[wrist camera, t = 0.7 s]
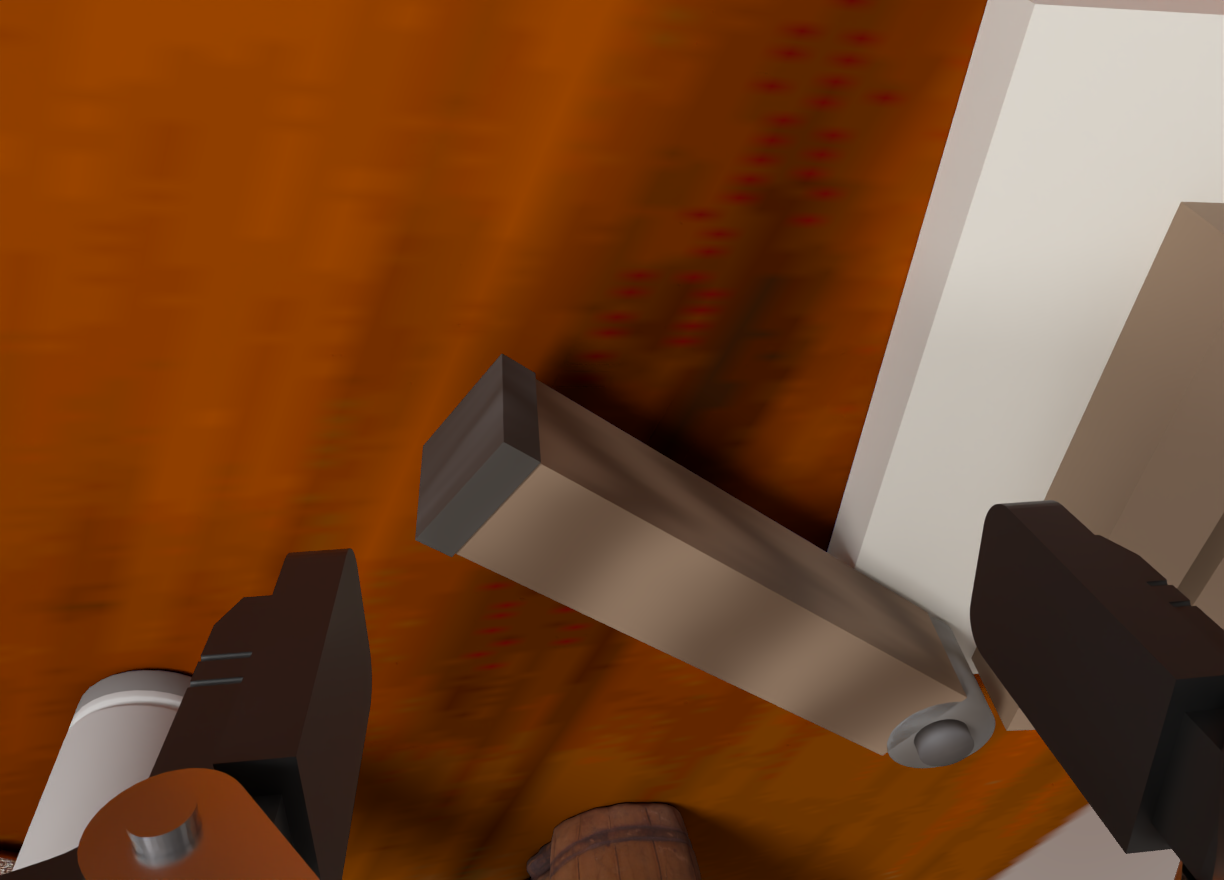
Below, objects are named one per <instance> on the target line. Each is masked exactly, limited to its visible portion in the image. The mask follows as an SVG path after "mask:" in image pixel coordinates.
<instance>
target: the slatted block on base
mask: <svg viewBox="0 0 1224 880" xmlns="http://www.w3.org/2000/svg"><path fill="white" fill-rule="evenodd" d="M1044 500H1054V501H1057V502H1059V503H1060V504H1062V505H1063V506H1064V507H1065V508H1066V509H1067V510H1068V511H1069V512H1070V513H1071V514H1073V515H1074V516H1075V517H1076V518H1077V519H1078V520H1079V521H1080V522H1081V523H1082V524H1083V525H1085V526H1086V527H1087V528H1088V529H1089V530H1090V531H1091V532H1092V533H1093V534H1094V535H1101V536H1103V537H1105V538H1107V539H1109V540H1111V541H1113V542H1114V543H1116V544H1118V545H1120V546H1122V547H1124V548H1126V549H1128V550H1130V551H1132V552H1134V553H1136V554H1138V555H1140V556H1141V557H1142V558H1143V559H1144V560H1145V561H1146V562H1147V563H1149V564H1150V565H1151V566H1152V567H1153V568H1154V569H1155V570H1156V571H1158V572H1159V573H1160V574H1161V575H1162V576H1163V577H1164V578H1166V579H1167V584H1168V585H1173V586H1175V587H1176V588H1177V589H1178V590H1179V591H1180V592H1181V593H1182V594H1184V595H1185V596H1186V597H1187V598H1188V599H1189V600H1190V604H1191V606H1197V607H1198V608H1199V609H1201V610H1202V611H1203V612H1204V613H1205V614H1206V615H1207V616H1208V617H1210V618H1211V619H1212V620H1213V621H1214V622H1215V623H1216V624H1218V625H1219V626H1220V627H1221V628H1222V629H1223V630H1224V0H988V1H987V5H986V8H985V12H984V15H983V19H982V22H981V26H980V29H979V32H978V36H977V39H976V43H975V46H974V50H973V53H972V56H971V60H970V63H969V67H968V70H967V74H966V77H965V80H964V84H963V87H962V91H961V94H960V98H959V101H958V104H957V108H956V111H955V115H954V118H953V122H952V125H951V128H950V132H949V135H948V139H947V142H946V146H945V149H944V152H943V156H942V159H941V163H940V166H939V170H938V173H937V177H936V180H935V183H934V187H933V190H932V194H931V197H930V201H929V204H928V207H927V211H926V214H925V218H924V221H923V225H922V228H921V231H920V235H919V238H918V242H917V245H916V249H915V252H914V255H913V259H912V262H911V266H910V269H909V273H908V276H907V279H906V283H905V286H904V290H903V293H902V297H901V300H900V303H899V307H898V310H897V314H896V317H895V321H894V324H893V328H892V331H891V334H890V338H889V341H888V345H887V348H886V352H885V355H884V358H883V362H882V365H881V369H880V372H879V376H878V379H877V382H876V386H875V389H874V393H873V396H872V400H871V403H870V406H869V410H868V413H867V417H866V420H865V424H864V427H863V430H862V434H861V437H860V441H859V444H858V448H857V451H856V454H855V458H854V461H853V465H852V468H851V472H850V475H849V479H848V482H847V485H846V489H845V492H844V496H843V499H842V503H841V506H840V509H839V513H838V516H837V520H836V523H835V527H834V530H833V533H832V537H831V540H830V544H829V547H828V551H827V553H829V554H830V555H832V556H834V557H835V558H837V559H839V560H840V561H842V562H844V563H845V564H847V565H849V566H850V567H852V568H854V569H856V570H857V571H859V572H861V573H862V574H864V575H866V576H867V577H869V578H871V579H872V580H874V581H876V582H877V583H879V584H881V585H882V586H884V587H886V588H887V589H889V590H891V591H892V592H894V593H896V594H897V595H899V596H901V597H903V598H904V599H906V600H908V601H909V602H911V603H913V604H914V605H916V606H918V607H919V608H921V609H923V610H924V611H926V612H927V613H928V615H929V617H932V618H935V619H938V620H941V621H943V622H944V623H946V624H947V625H948V626H949V627H950V628H951V630H952V631H953V634H954V636H955V638H956V640H957V642H958V644H959V646H960V648H961V650H962V652H963V654H964V656H965V658H966V660H967V662H968V664H969V667H970V669H971V671H972V673H973V674H979V675H980V677H981V679H982V681H983V683H984V685H985V688H986V690H987V692H988V694H989V696H990V698H991V700H992V702H993V704H994V706H995V708H996V710H997V712H998V714H999V716H1000V718H1001V720H1002V722H1003V724H1004V726H1005V728H1006V730H1007V731H1011V730H1035V728H1034V727H1033V726H1032V724H1031V723H1030V721H1029V720H1028V719H1027V717H1026V716H1025V715H1024V713H1023V712H1022V710H1021V709H1020V708H1019V706H1018V705H1017V704H1016V702H1015V701H1014V700H1013V698H1012V697H1011V695H1010V694H1009V693H1008V691H1007V690H1006V689H1005V687H1004V686H1003V684H1002V683H1001V682H1000V680H999V679H998V678H997V676H996V675H995V673H994V672H993V671H992V669H991V668H990V667H989V665H988V664H987V662H986V661H985V660H984V658H983V657H982V655H981V654H980V652H979V650H978V648H977V646H976V644H975V641H974V638H973V635H972V630H971V624H970V603H971V597H972V591H973V585H974V579H975V573H976V567H977V561H978V556H979V550H980V544H981V538H982V532H983V526H984V521H985V517H986V515H987V513H988V511H989V509H990V508H991V507H992V506H993V505H995V504H1002V503H1016V502H1030V501H1044Z"/></svg>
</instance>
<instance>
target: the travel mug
mask: <svg viewBox="0 0 1224 880" xmlns="http://www.w3.org/2000/svg"><path fill="white" fill-rule="evenodd" d="M191 678H192V677H190V676H186V675H183V674H179V673H175V672H168V671H161V670H137V671H128V672H124V673H119V674H115V675H112V676H110V677H107V678H105V679H103V680H101V681H99V682H98V683H96V684H95V685H93V686H92V687H90V688H89V689H88V690H87V691H86V692H85V693H84V695H83V696H82V698H81V700H80V702H79V704H78V707H77V709H76V712H75V714H74V717H73V719H72V722H71V724H70V727H69V731H68V733H67V735H66V737H65V739H64V742H63V744H62V747H61V749H60V752H59V755H58V757H57V760H56V762H55V765H54V767H53V770H52V772H51V775H50V777H49V780H48V782H47V785H46V787H45V790H44V792H43V795H42V797H41V800H40V802H39V805H38V807H37V810H36V812H35V815H34V817H33V820H32V822H31V825H30V827H29V830H28V833H27V835H26V838H25V840H24V843H23V845H22V848H21V850H20V853H19V855H18V858H17V860H16V863H15V865H14V868H13V870H12V871H15V870H18V869H21V868H24V867H27V866H30V865H33V864H36V863H39V862H42V861H45V860H48V859H51V858H53V857H56V856H58V855H61V854H64V853H66V852H68V851H70V850H72V849H74V848H76V847H78V846H79V841H80V839H81V837H82V834H83V832H84V830H85V828H86V827H87V825H88V824H89V822H90V821H91V819H92V818H93V817H94V816H95V815H96V814H97V812H98V811H99V810H100V809H101V808H102V807H103V806H105V805H106V804H107V803H108V802H109V801H110V800H111V799H113V798H114V797H116V796H117V795H118V794H120V793H121V792H122V791H124V790H126V789H128V788H129V787H131V786H133V785H135V784H136V783H139V782H141V781H143V780H145V779H148V778H149V776H150V774H151V771H152V769H153V767H154V764H155V762H156V760H157V757H158V755H159V753H160V750H161V748H162V746H163V743H164V741H165V739H166V736H167V734H168V732H169V729H170V727H171V725H172V722H173V720H174V718H175V715H176V713H177V711H178V708H179V706H180V704H181V701H182V699H183V697H184V694H185V692H186V690H187V688H188V687H190V684H191V683H190V680H191Z"/></svg>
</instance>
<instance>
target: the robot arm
mask: <svg viewBox="0 0 1224 880" xmlns="http://www.w3.org/2000/svg"><path fill="white" fill-rule="evenodd" d="M970 624H971V630H972V635H973V638H974V641H975V644H976V646H977V648H978V650H979V652H980V654H981V655H982V657H983V658H984V660H985V661H986V662H987V664H988V665H989V667H990V668H991V669H992V671H993V672H994V673H995V675H996V676H997V678H998V679H999V680H1000V682H1001V683H1002V684H1003V686H1004V687H1005V689H1006V690H1007V691H1008V693H1009V694H1010V695H1011V697H1012V698H1013V700H1014V701H1015V702H1016V704H1017V705H1018V706H1019V708H1020V709H1021V710H1022V712H1023V713H1024V715H1025V716H1026V717H1027V719H1028V720H1029V721H1030V723H1031V724H1032V726H1033V727H1034V728H1035V730H1036V731H1037V732H1038V734H1039V735H1040V737H1041V738H1042V739H1043V741H1044V742H1045V743H1046V745H1047V746H1048V748H1049V749H1050V750H1051V752H1052V753H1053V754H1054V756H1055V757H1056V759H1057V760H1058V761H1059V763H1060V764H1061V765H1062V767H1063V768H1064V769H1065V771H1066V772H1067V774H1068V775H1069V776H1070V778H1071V779H1072V780H1073V782H1074V783H1075V785H1076V786H1077V787H1078V789H1079V790H1080V791H1081V793H1082V794H1083V796H1084V797H1085V798H1086V800H1087V801H1088V802H1089V804H1090V805H1091V807H1092V808H1093V809H1094V811H1095V812H1096V813H1097V815H1098V816H1099V818H1100V819H1101V820H1102V822H1103V823H1104V824H1105V826H1106V827H1107V828H1108V830H1109V831H1110V833H1111V834H1112V835H1113V837H1114V838H1115V839H1116V841H1117V842H1118V844H1119V845H1120V846H1121V848H1122V849H1123V850H1124V852H1125V853H1126V854H1127V853H1137V852H1147V851H1155V850H1165V849H1172V850H1173V851H1174V852H1175V853H1176V855H1177V856H1178V857H1179V858H1180V863H1179V866H1178V869H1177V872H1176V875H1175V878H1174V880H1224V630H1223V629H1222V628H1221V627H1220V626H1219V625H1218V624H1216V623H1215V622H1214V621H1213V620H1212V619H1211V618H1210V617H1208V616H1207V615H1206V614H1205V613H1204V612H1203V611H1202V610H1201V609H1199V608H1198V607H1197V606H1191V604H1190V600H1189V599H1188V598H1187V597H1186V596H1185V595H1184V594H1182V593H1181V592H1180V591H1179V590H1178V589H1177V588H1176V587H1175V586H1173V585H1168V584H1167V579H1166V578H1164V577H1163V576H1162V575H1161V574H1160V573H1159V572H1158V571H1156V570H1155V569H1154V568H1153V567H1152V566H1151V565H1150V564H1149V563H1147V562H1146V561H1145V560H1144V559H1143V558H1142V557H1141V556H1140V555H1138V554H1136V553H1134V552H1132V551H1130V550H1128V549H1126V548H1124V547H1122V546H1120V545H1118V544H1116V543H1114V542H1113V541H1111V540H1109V539H1107V538H1105V537H1103V536H1101V535H1094V534H1093V533H1092V532H1091V531H1090V530H1089V529H1088V528H1087V527H1086V526H1085V525H1083V524H1082V523H1081V522H1080V521H1079V520H1078V519H1077V518H1076V517H1075V516H1074V515H1073V514H1071V513H1070V512H1069V511H1068V510H1067V509H1066V508H1065V507H1064V506H1063V505H1062V504H1060V503H1059V502H1057V501H1054V500H1044V501H1030V502H1016V503H1002V504H995V505H993V506H992V507H991V508H990V509H989V511H988V513H987V515H986V517H985V521H984V526H983V532H982V538H981V544H980V550H979V556H978V561H977V567H976V573H975V579H974V585H973V591H972V597H971V603H970ZM190 683H191V684H190V687H188V688H187V690H186V692H185V694H184V697H183V699H182V701H181V704H180V706H179V708H178V711H177V713H176V715H175V718H174V720H173V722H172V725H171V727H170V729H169V732H168V734H167V736H166V739H165V741H164V743H163V746H162V748H161V750H160V753H159V755H158V757H157V760H156V762H155V764H154V767H153V769H152V771H151V774H150V776H149V778H148V779H145V780H143V781H141V782H139V783H136V784H135V785H133V786H131V787H129V788H128V789H126V790H124V791H122V792H121V793H120V794H118V795H117V796H116V797H114V798H113V799H111V800H110V801H109V802H108V803H107V804H106V805H105V806H103V807H102V808H101V809H100V810H99V811H98V812H97V814H96V815H95V816H94V817H93V818H92V819H91V821H90V822H89V824H88V825H87V827H86V828H85V830H84V832H83V834H82V837H81V839H80V841H79V846H78V847H76V848H74V849H72V850H70V851H68V852H66V853H64V854H61V855H58V856H56V857H53V858H51V859H48V860H45V861H42V862H39V863H36V864H33V865H30V866H27V867H24V868H21V869H18V870H15V871H12V872H9V873H6V874H3V875H0V880H342V874H343V868H344V862H345V856H346V850H347V844H348V838H349V832H350V826H351V820H352V814H353V808H354V802H355V796H356V790H357V784H358V777H359V771H360V765H361V759H362V753H363V747H364V741H365V735H366V729H367V723H368V717H369V711H370V704H371V692H372V672H371V657H370V649H369V642H368V636H367V629H366V622H365V616H364V609H363V602H362V596H361V589H360V582H359V576H358V569H357V563H356V559H355V555H354V552H353V550H352V549H336V550H322V551H308V552H294V553H289V554H288V555H287V556H286V558H285V561H284V564H283V566H282V569H281V572H280V575H279V578H278V581H277V583H276V586H275V589H274V592H273V595H270V596H257V597H244V598H243V599H241V600H240V601H239V602H238V603H237V604H236V605H235V606H234V607H233V608H232V609H231V610H230V611H229V612H228V613H226V614H225V615H224V616H223V617H222V618H221V619H220V620H219V621H218V622H217V623H216V624H215V625H214V627H213V629H212V631H211V634H210V636H209V638H208V641H207V643H206V645H205V648H204V650H203V652H202V655H201V662H198V664H197V666H196V669H195V671H194V673H193V676H192V678H191V680H190Z"/></svg>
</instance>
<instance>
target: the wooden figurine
mask: <svg viewBox="0 0 1224 880" xmlns="http://www.w3.org/2000/svg"><path fill="white" fill-rule="evenodd" d="M527 872H528V873H529V875H530V876H531V879H530V880H701V875H700V870H699V866H698V863H697V859H696V856H695V853H694V851H693V850H692V844H691V841H690V839H689V838H688V833H687V830H686V827H685V824H684V821H683V818H682V816H681V814H680V812H679V811H678V810H677V809H676V808H675V807H673V806H670V805H667V804H660V803H644V804H632V803H624V804H616V805H613V806H610V807H602V808H594V809H592V810H589V811H586V812H583V813H581V814H579V815H577V816H575V817H573V818H570V819H567V820H565V821H563V822H562V823H561V824H559V825H558V826H557V827H555V829H554V831H553V836H552V841H551V842H550V843H548V844H546V845H544V846H542V847H541V848H540V850H539V852H538V853H537V854H536V855H535V856H533V857H532V858H530V859H529V860H528V862H527Z"/></svg>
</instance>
